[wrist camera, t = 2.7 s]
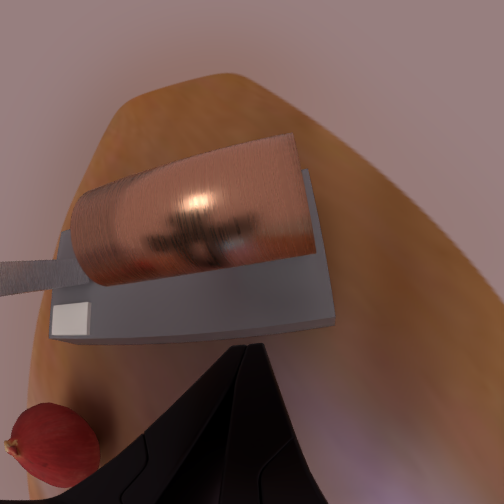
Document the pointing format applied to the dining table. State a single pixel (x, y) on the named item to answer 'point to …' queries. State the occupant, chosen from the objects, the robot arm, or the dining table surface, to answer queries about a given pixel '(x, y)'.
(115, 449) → the dining table surface
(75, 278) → the grey lever
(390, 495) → the dining table surface
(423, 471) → the dining table surface
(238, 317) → the switch box
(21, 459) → the onion
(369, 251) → the dining table surface
